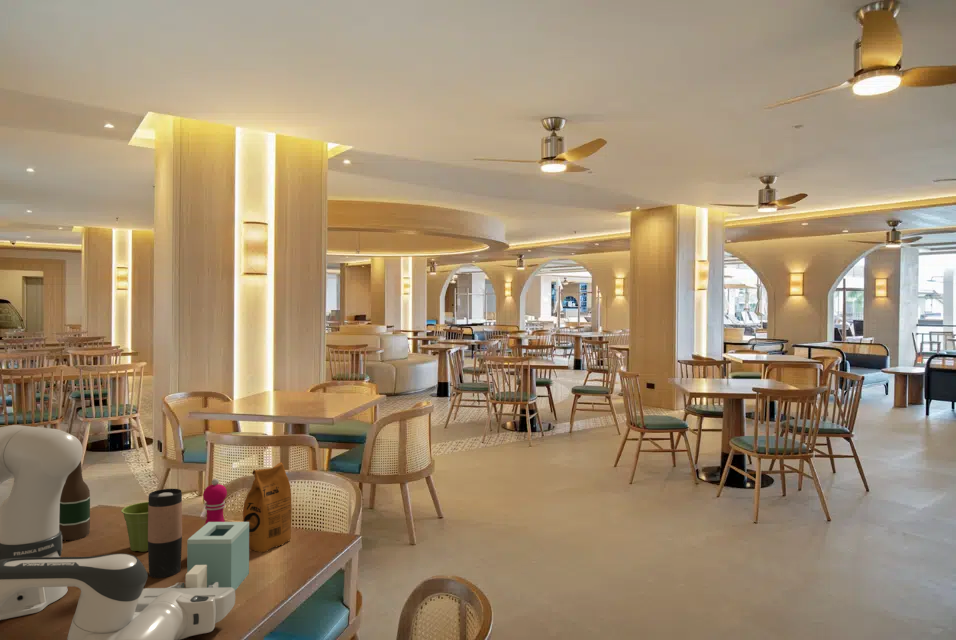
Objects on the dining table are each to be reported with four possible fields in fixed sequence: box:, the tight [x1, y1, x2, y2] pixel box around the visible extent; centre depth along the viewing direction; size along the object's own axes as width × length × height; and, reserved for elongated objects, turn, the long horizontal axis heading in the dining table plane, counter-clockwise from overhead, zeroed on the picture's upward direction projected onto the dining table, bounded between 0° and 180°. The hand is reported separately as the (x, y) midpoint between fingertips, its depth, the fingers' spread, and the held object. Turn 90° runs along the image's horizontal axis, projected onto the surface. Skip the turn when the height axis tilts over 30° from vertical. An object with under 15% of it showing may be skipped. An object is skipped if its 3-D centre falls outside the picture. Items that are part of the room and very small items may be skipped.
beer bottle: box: [59, 460, 91, 541], centre depth 177 cm, size 8×8×24 cm
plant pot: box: [120, 501, 148, 553], centre depth 169 cm, size 12×12×11 cm
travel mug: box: [147, 488, 183, 579], centre depth 153 cm, size 8×8×20 cm
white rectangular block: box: [185, 565, 207, 588], centre depth 133 cm, size 5×2×9 cm, turn 2°
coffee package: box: [242, 462, 293, 553], centre depth 172 cm, size 10×12×22 cm
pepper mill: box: [202, 478, 228, 525], centre depth 166 cm, size 7×7×20 cm
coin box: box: [186, 521, 250, 591], centre depth 146 cm, size 12×10×13 cm
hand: (198, 585), depth 134 cm, fingers open, 6 cm apart
